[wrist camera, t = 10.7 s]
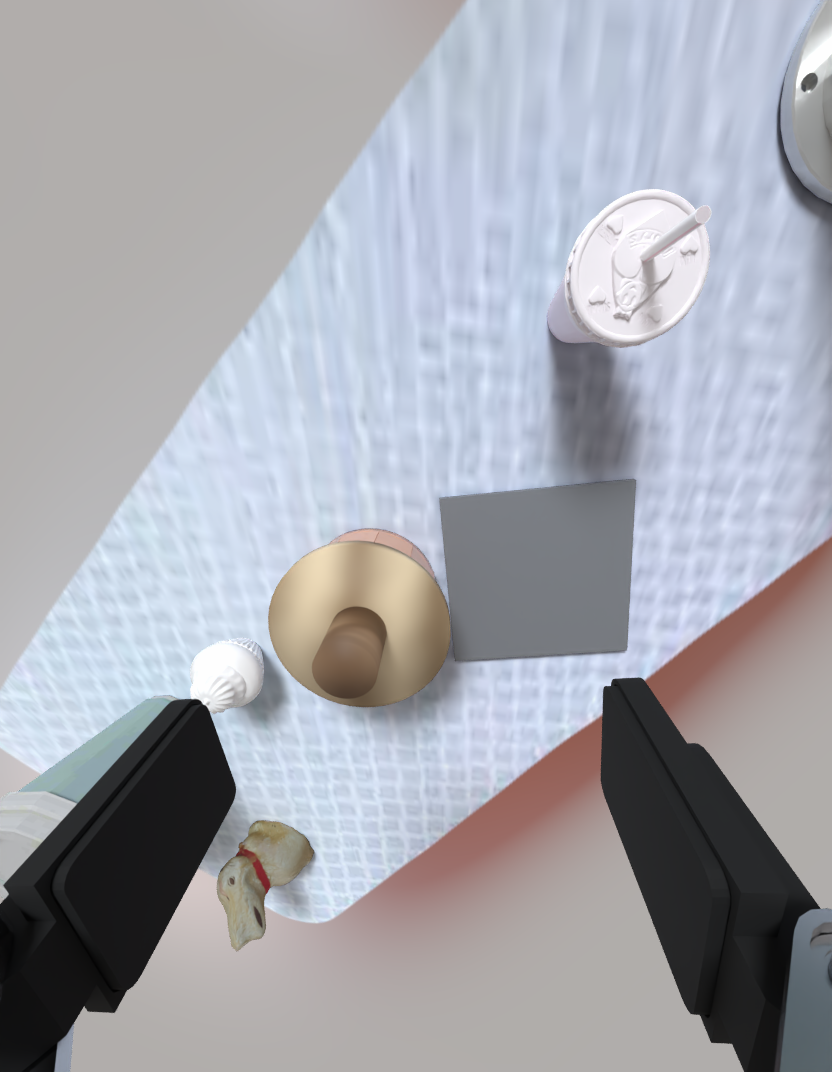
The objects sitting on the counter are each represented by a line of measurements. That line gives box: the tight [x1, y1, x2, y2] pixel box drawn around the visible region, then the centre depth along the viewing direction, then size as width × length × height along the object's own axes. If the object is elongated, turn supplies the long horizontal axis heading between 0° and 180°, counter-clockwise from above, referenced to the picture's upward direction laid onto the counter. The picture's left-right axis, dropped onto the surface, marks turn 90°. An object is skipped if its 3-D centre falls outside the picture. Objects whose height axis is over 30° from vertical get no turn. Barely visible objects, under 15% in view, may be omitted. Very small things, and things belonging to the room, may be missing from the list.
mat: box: [439, 479, 636, 661], centre depth 34 cm, size 15×15×1 cm
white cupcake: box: [190, 638, 264, 714], centre depth 35 cm, size 6×6×7 cm
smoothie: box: [547, 189, 711, 348], centre depth 21 cm, size 6×6×14 cm
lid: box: [268, 540, 450, 707], centre depth 27 cm, size 13×13×6 cm
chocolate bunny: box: [217, 820, 314, 951], centre depth 41 cm, size 6×8×10 cm
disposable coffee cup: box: [0, 696, 179, 899], centre depth 34 cm, size 11×11×15 cm
